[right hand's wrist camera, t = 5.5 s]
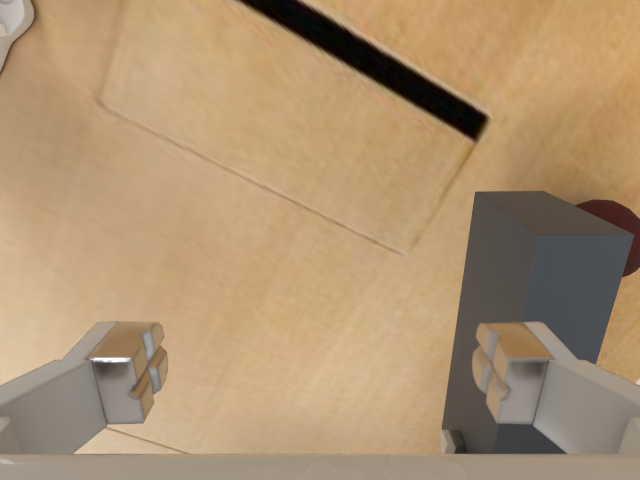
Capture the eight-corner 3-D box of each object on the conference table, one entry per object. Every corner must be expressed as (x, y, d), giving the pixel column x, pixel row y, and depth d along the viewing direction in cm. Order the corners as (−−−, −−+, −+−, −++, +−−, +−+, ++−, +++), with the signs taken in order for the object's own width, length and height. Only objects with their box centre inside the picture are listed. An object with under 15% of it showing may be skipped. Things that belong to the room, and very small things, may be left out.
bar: (474, 191, 28) (538, 234, 20) (544, 191, 28) (635, 234, 20) (439, 440, 37) (475, 541, 29) (493, 439, 37) (543, 539, 29)
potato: (604, 260, 42) (657, 293, 35) (529, 262, 42) (569, 295, 35) (621, 190, 39) (683, 212, 33) (541, 192, 39) (587, 215, 33)
